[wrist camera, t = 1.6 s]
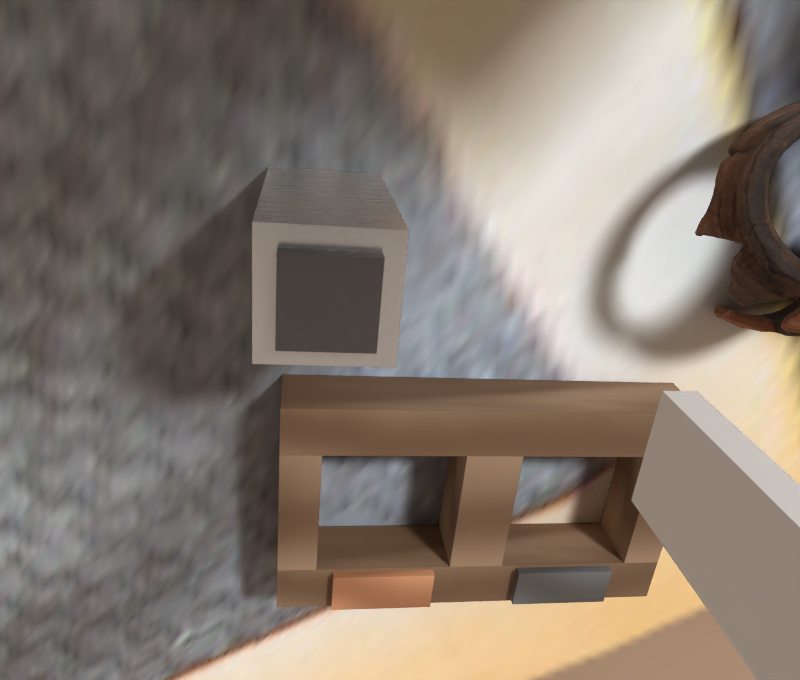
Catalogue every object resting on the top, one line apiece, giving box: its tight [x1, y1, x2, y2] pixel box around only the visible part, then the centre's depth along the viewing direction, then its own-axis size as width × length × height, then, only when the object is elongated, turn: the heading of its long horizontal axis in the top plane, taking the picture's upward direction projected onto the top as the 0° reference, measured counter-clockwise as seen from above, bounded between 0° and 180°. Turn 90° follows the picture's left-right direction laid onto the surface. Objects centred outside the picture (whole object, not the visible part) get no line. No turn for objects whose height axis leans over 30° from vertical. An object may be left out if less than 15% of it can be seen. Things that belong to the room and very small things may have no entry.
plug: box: [252, 166, 409, 367], centre depth 23 cm, size 4×4×9 cm
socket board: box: [277, 375, 680, 610], centre depth 32 cm, size 11×19×3 cm, turn 85°
